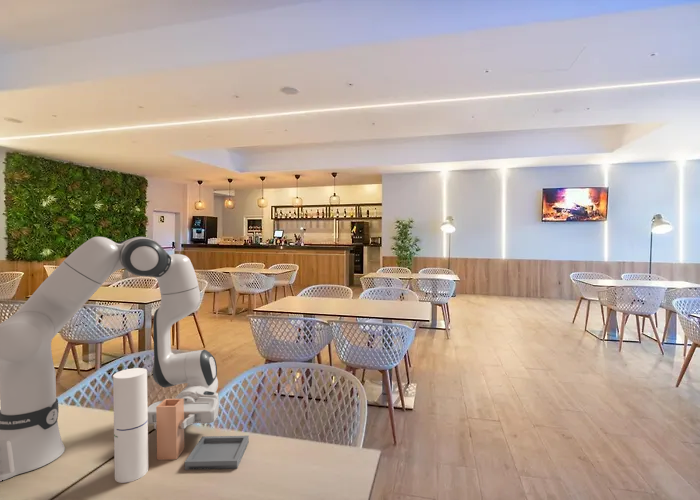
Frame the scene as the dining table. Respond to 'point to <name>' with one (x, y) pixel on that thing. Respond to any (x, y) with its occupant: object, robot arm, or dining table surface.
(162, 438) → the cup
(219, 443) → the tray
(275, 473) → the dining table surface
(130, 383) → the cylindrical container
